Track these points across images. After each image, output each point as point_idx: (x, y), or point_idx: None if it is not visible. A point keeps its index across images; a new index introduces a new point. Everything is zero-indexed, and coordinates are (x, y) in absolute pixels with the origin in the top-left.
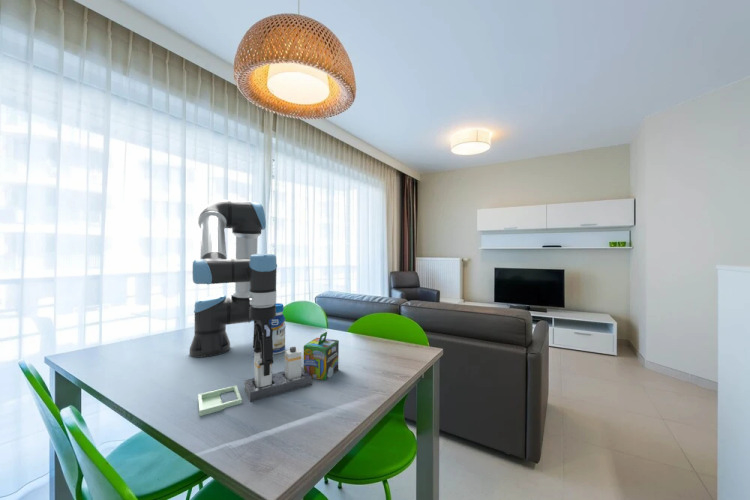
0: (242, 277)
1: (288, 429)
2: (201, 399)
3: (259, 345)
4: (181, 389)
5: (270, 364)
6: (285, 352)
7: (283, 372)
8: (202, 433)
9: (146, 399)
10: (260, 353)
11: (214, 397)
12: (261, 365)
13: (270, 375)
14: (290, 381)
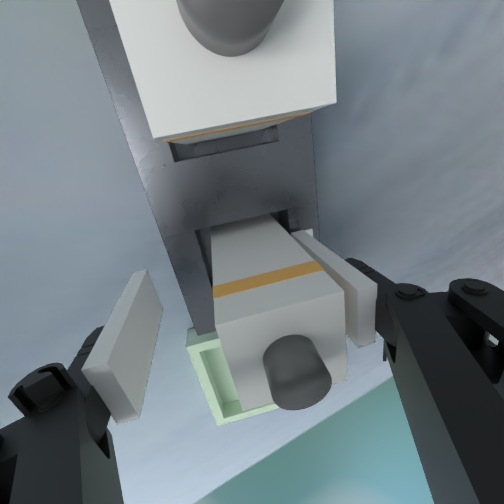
0: None
1: (498, 167)
2: (256, 409)
3: (103, 487)
4: (119, 460)
5: (367, 280)
6: (187, 132)
7: (153, 150)
8: (376, 356)
9: (161, 495)
10: (291, 408)
11: (222, 379)
12: (370, 337)
13: (325, 248)
14: (303, 122)
